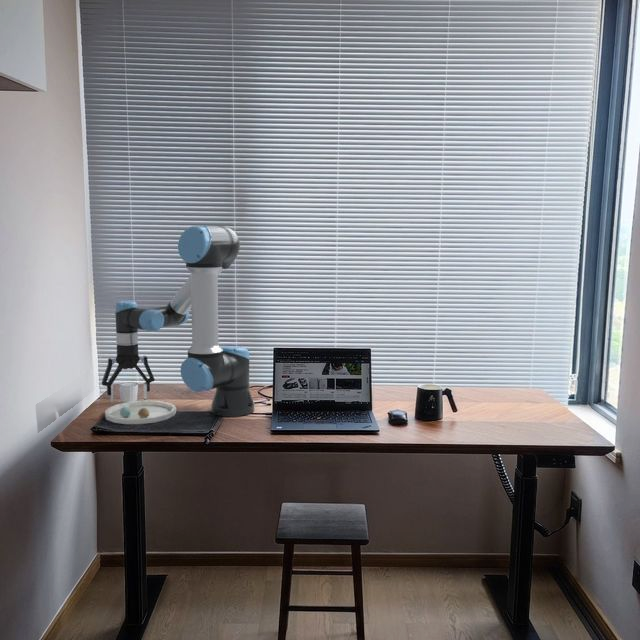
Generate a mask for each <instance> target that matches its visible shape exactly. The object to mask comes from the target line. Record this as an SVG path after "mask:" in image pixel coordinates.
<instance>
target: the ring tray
mask: <svg viewBox="0 0 640 640" xmlns="http://www.w3.org/2000/svg"><path fill="white" fill-rule="evenodd" d="M123 407H128V408H129V409H130V410H131V414H130V415H129V416H128V417H122V416H121V415H120V410H121V409H122V408H123ZM142 408H146V409H148V411H149V416H148V417H147V418H140V417H139V415H138V412H139V410H140V409H142ZM176 413H177V407H176V406H175V405H174V404H173V403H170V402H167V401H162V400H160V401H158V400H137V401H133V402H121V403H118V404H114V405H112V406H109V407H108V408H107V409H106V410H105V411H104V418H105V420H106V421H108V422H112V423H114V424H123V425H144V424H145V425H146V424H152V423H158V422H163V421H166V420H168V419H170V418H173V417H175V414H176Z"/></svg>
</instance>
